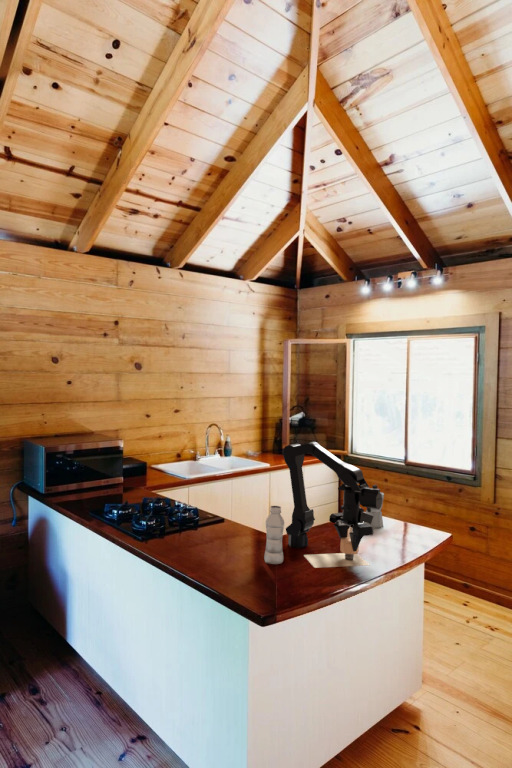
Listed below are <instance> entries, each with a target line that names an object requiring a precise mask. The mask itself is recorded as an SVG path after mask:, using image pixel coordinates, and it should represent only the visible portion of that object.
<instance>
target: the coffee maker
mask: <svg viewBox="0 0 512 768" xmlns="http://www.w3.org/2000/svg"><path fill="white" fill-rule="evenodd" d="M372 488H373V489H378V485H376V484H373V485H372ZM380 493H381V495H382V498H383V500H382V505H381V508H380V509H379V510H378V509H373V508H368V507H365V508H366V509H365V513H368V514H370V515H372V516H374V517H373V520H372V523H371V524H369V523H366V522H364V521H363V523H362V524H367V525H369V526H371V527H372V528H373V529H382V528H383V527H384V521H383V513H382V508H383V504H384V503H383V502H384V499H385V498H384V497H385V493H384V492H381V491H380ZM381 527H382V528H381Z"/></svg>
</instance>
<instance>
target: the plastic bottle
mask: <svg viewBox="0 0 512 768" xmlns="http://www.w3.org/2000/svg"><path fill="white" fill-rule="evenodd" d="M269 513H270V514H269V515H268V516H267V517H266V519H265V530H266V531H265V532H266V543H265V551H264V556H263V557H264V558H263V559H264V562H265V563H266V565H268V564H269V565H270V564H271V565H279V564H280V565H281V564H282V563H283V562H284V552H283V536H284V527H285V520H284V518H283V516H282V515H281V513H282V507H281V506H280V505H270V507H269Z"/></svg>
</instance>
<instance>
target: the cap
mask: <svg viewBox="0 0 512 768" xmlns="http://www.w3.org/2000/svg"><path fill="white" fill-rule="evenodd" d="M339 545H340V547H339V549H340V550H339V551H340V553H346V554H359V548H360V547H359V546H360V545H359V546H358V548H357V551H353V548H352V544H351V539H350V536H347V537H343V538H341V539H340V544H339Z"/></svg>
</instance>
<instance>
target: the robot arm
mask: <svg viewBox="0 0 512 768" xmlns="http://www.w3.org/2000/svg"><path fill="white" fill-rule="evenodd" d="M307 454H310V455H312V456H313V457H315V458H316V460H318V461H320V462H321V463H322V464H324V465H325V466H327V468H329V469H330V470H332V471H333V472H334V473H335V474H336V476H337V477H338V479H339V480H340V481H341V482H342V484H341V485H340V486H338V487H337V490H339V491H343V498H342V499H343V501H342V503H343V504H342V505H340V509H341V510H342V512H335V513H331V514H330V515H329V518H328V519H329V520H328V521H329V522H330V523H331V524H333V525H332V526H334V528H335V530H336V532H337V534H338V537H339V539H340V540H341V538H343V537H348V535H349V537H350V539H351V544H352V548H353V551H357V548H358V546H360V544H361V541H362V539H363V537H367V536H373V535H374V528H372V527H371V526H369V525H367V524H363V523H364V522H366V523H369V524H371V523H372V520H373V517H374V516H372V515H370V514H368V513H366V511H365V509H364V508H366V507H368V508H373V509H378V510H379V509H380V508H381V505H382V506H383V504H382V500H383V501H384V498H382V495H381V493H382V492H381V489H380V488H377V489H373V487H372V488H371V487H370V486H369V484H368V482H367V481H366V479H365V477H364V474H363V471H362V470H361V468H359V467H356V466H355V465H354V464H353V465H352V464H350V463H347V462H345V461H342V460H341V459H340V458H339V457H337V456H335V454H333V453H331V452H330V451H328V450H327V449H326V448H324V447H323V446H321V445H320V443H318V441H317V442H316V441H310V442H307V443H305V444H300V443H293V444H287V445H285V446H284V448H283V449H282V455H283V456H282V457H283V460H284V463H285V465H286V466H287V467H288V470H289V475H290V486H291V493H292V500H293V507H294V508H293V511H292V513H291V524H289V525H288V526H286V527H285V532H286V535H288V541H287V542H288V543H287V545H288V546H289V547H290V548H295V549H303V548H306V547H308V545H309V537H308V532H309V531H310V529H312V527H313V526H314V523H315V522H314V521H315V520H316V518H315V515H314V513H315V512H314V509H313V508H312V509H310V508H309V506H308V502H307V494H306V487H305V479H304V472H303V465H304V461H305V455H307ZM380 492H381V493H380ZM360 505H361V506H362V507H361V506H360ZM350 528H351V529H352V531H351V532H348V531H349V529H350ZM348 533H349V534H348Z"/></svg>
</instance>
